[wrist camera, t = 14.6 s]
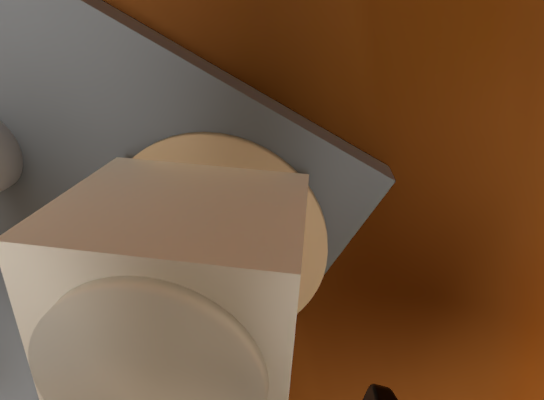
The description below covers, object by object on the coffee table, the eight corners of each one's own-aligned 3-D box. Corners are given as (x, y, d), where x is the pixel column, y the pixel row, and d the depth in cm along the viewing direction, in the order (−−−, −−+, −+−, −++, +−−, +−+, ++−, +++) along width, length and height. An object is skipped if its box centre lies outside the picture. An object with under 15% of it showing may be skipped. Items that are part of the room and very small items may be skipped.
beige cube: (116, 156, 11) (-27, 252, 6) (309, 174, 11) (299, 289, 6) (135, 308, 13) (39, 457, 9) (294, 327, 13) (279, 495, 8)
